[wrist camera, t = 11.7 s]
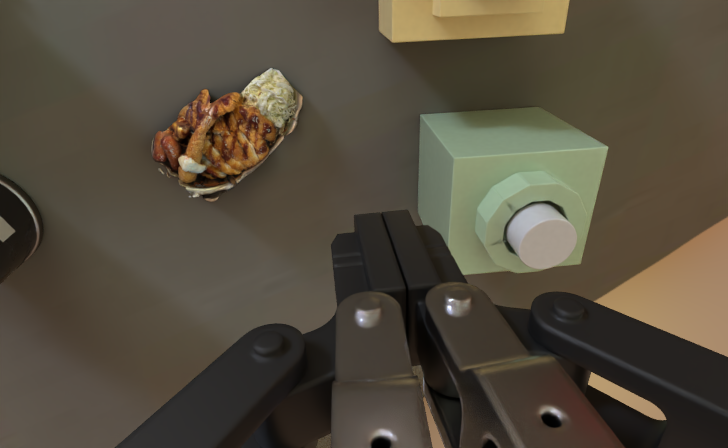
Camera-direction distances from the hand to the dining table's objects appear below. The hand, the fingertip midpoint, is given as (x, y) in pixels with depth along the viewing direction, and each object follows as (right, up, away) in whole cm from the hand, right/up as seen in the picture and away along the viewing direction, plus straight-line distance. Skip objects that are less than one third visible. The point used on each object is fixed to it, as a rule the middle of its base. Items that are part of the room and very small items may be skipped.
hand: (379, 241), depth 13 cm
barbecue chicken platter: (-11, +8, +23) cm, 27 cm away
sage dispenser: (+9, +6, +26) cm, 28 cm away
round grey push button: (+10, 0, +16) cm, 19 cm away
